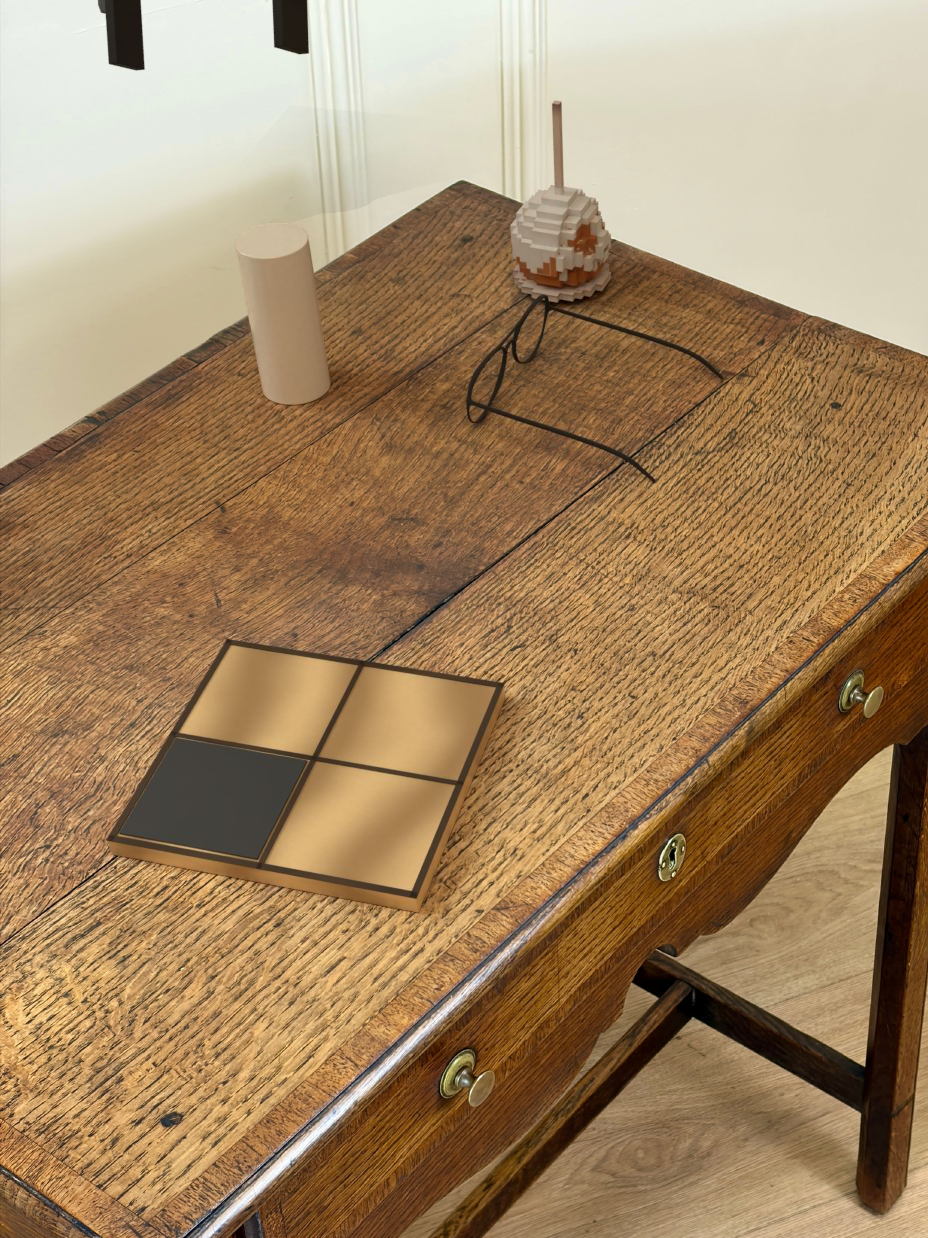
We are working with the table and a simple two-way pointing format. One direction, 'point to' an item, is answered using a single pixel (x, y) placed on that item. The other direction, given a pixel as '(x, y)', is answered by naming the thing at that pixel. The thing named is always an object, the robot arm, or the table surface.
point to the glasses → (514, 341)
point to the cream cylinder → (283, 312)
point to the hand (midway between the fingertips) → (207, 59)
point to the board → (313, 774)
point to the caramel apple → (560, 237)
